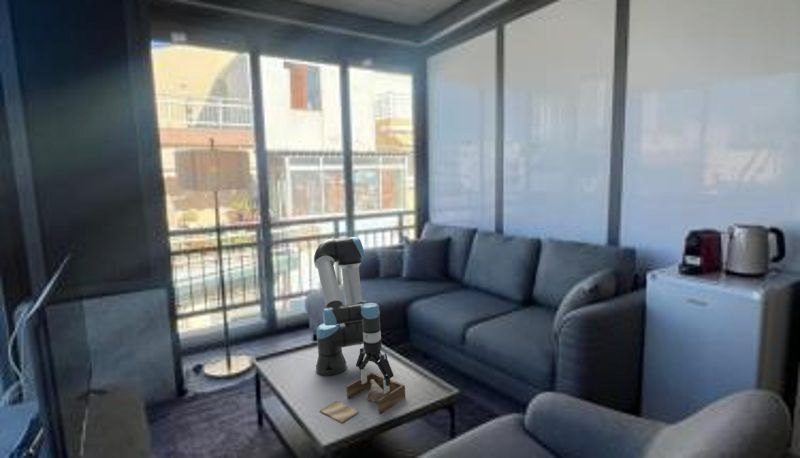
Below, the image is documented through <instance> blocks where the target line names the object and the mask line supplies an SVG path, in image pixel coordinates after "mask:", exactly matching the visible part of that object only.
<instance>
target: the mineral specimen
mask: <svg viewBox="0 0 800 458" xmlns="http://www.w3.org/2000/svg"><path fill="white" fill-rule="evenodd" d="M370 384H371V387H370V388H369V391H368V392H367V393H366V395H365V398H366V399H368V401H369V402H370V403H371V402H372V403H374V404H378V400H379V399H380V398H382V397H384V396H385V395H386V394H385V393H384V390H383V389H382V388H381V387H380V386H379V385H378V384H377V383H376V382H375V380H374V379H371V380H370Z"/></svg>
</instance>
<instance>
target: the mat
mask: <svg viewBox="0 0 800 458" xmlns="http://www.w3.org/2000/svg"><path fill="white" fill-rule="evenodd" d="M319 412H320V413H321V414H324V415H325V416H328V417H329V418H332V419H334V420H335V421H337V422H338V423H341V424H343V423H345V422H346V421H348V420H350V419H351V418H353V417H355V416H356V415H358V414H359V413H360V412H359V411H358V410H357V409H355V408H352V407H350V406H348V405H346V404H345V403H342V402H340V401H338V400H334V402H333V401H332V403H330V404H327V405H326V406H324V407H323V408H320V409H319Z"/></svg>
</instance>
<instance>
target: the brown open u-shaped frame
mask: <svg viewBox="0 0 800 458" xmlns="http://www.w3.org/2000/svg"><path fill="white" fill-rule="evenodd" d="M383 378H384V376H383V375H380V374H377V373H375V372H373V371H371V372H370V373H367V382H366V383H365V384H361V377H360V378H359V379H357V380H355V381H353V382H351V383H349V384H348V385H346V399H347V400H351V399H352V398H354V397H356V396H357V395H360V394H361V393H363V392H364V391H366V390H368V389H371V384H370V380H371V379H374V380H375V382H376V383H377V384H378V385H379V386H380V387H381V388H382V389H383V390H384V384H383ZM389 387H390V391H389V392H387V393H386V394H385V396H384V397H382V398H380V399H379V400H378V403H377V407H378V409H377V410H378V415H382V414H384V413H386V411H388V410H390V409H391V408H393V407H394V406H396V405H398V404H399V403H401V402H402V401H404V400H406V385H405V384H402V383H400V382H398V381H395V380H393V379H390V385H389Z"/></svg>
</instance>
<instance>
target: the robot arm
mask: <svg viewBox="0 0 800 458" xmlns="http://www.w3.org/2000/svg"><path fill="white" fill-rule="evenodd" d="M364 251H365V250H364V247H363V244H362V241H361V239H360V238H359V237H358V236H348V237H339V238H329V239H326V240H324V241H323V242H321V243H320V244H319V245H318V247H317V248H316V250H315V252H314V257H313V263H314V266H315V268H316V269H317V271H318V275H319V281H320V285H321V290H322V295H323V300H324V306H325V308H323V309H322V319H323V320H322V321H323V323H321V324H319V326H317V328H316V339H317V340H316V341H317V350H318V351H317V353H318V357H317V361H316V364H315V371H316V373H317V374H318V375H320V376H324V377H325V376H335V375H339V374H342V373H343V372H345V371H346V369H347V368H348V367H347V361H346V358H345V356H344V354H343V348H347V347H352V346H361V345H363V347H361V348H360V349H359V355H358V358H357V361H356V363H355V366H356V367H357V368H359V369H358V370H359V375H360V378H361V384H365V383H366V382H367V375H368V373H367V368H366V366H367V364H369V362H371V363H373V364H375V366H377V367H378V368H379V371H380V373H381V374H382V376H383V377H384V378H383V384H384V393H385V395H387V394H388V392H389V391H390V387H389V385H390V380H391V379H392V378H393V377H394V372H393V370H392V367H391V365H390V362H389V360H388V356H387V355H388V354H387V353H384V354H383V353H382V352H381V351H382V340H381V339H382V336H381V335H382V332H381V317H380V315H381V311H380V306H379V304H377V303H375V302H368V301H367V300H363V298H362V288H361V279H360V265H361V264H362V260H363V259H365V252H364ZM335 263H337V265H338V267H339V268H341V275H342V276H341V277H342V286H343V296H344V302H343V299H342V295H341V290H340V286H339V283H338V279H337V278H338V277H337V275H336V269H335Z"/></svg>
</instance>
